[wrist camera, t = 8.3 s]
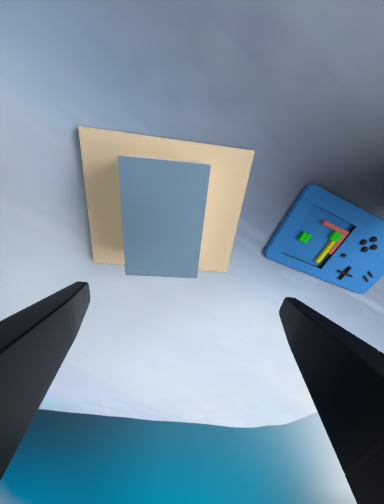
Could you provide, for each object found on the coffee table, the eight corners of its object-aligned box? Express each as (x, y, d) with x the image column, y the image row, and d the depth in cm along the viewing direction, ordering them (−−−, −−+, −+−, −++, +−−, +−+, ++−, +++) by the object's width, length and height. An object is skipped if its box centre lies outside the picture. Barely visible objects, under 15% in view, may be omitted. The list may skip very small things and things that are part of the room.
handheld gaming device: (365, 297, 25) (264, 258, 21) (358, 291, 26) (260, 253, 22) (422, 239, 21) (313, 183, 18) (411, 236, 22) (306, 181, 19)
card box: (193, 256, 21) (196, 278, 17) (135, 252, 20) (125, 274, 17) (204, 162, 17) (210, 165, 13) (131, 154, 16) (117, 155, 13)
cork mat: (252, 150, 17) (254, 150, 17) (225, 269, 22) (226, 272, 22) (81, 126, 16) (78, 125, 15) (95, 259, 21) (93, 262, 20)
